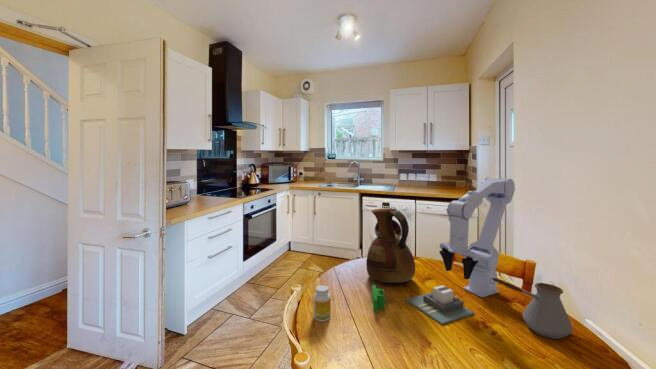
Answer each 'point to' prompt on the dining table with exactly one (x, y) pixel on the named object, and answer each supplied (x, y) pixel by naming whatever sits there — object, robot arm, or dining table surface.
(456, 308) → the header socket
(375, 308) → the pipe clamp
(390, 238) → the ceramic pitcher
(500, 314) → the dining table surface
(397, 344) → the dining table surface
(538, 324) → the coffee pot
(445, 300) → the plug
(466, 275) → the robot arm
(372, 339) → the dining table surface
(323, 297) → the supplement bottle
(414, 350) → the dining table surface
